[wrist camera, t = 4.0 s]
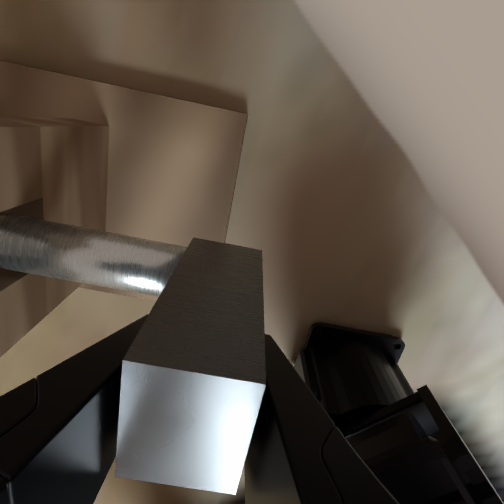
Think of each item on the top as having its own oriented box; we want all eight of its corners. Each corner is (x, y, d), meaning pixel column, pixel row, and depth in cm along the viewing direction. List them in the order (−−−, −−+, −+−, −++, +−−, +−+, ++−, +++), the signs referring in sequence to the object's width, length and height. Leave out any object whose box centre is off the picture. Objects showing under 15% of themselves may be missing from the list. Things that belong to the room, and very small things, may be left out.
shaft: (261, 241, 13) (265, 384, 6) (246, 306, 14) (235, 494, 7) (-6, 189, 12) (-366, 277, 5) (1, 261, 13) (-289, 416, 6)
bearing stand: (247, 114, 17) (236, 102, 8) (213, 304, 22) (180, 439, 12) (0, 60, 17) (-323, -19, 7) (15, 268, 21) (-176, 382, 12)
